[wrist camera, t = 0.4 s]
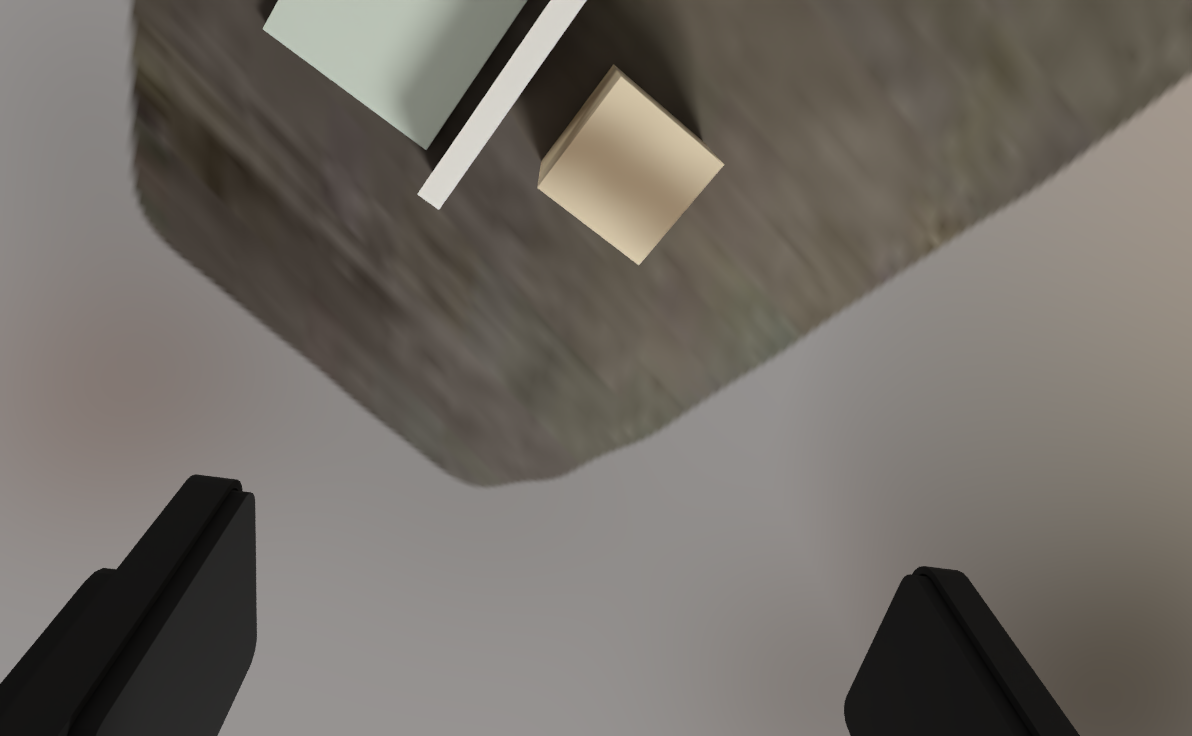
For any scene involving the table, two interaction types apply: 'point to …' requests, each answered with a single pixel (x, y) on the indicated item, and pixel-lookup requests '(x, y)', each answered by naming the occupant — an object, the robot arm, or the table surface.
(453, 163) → the cream screen
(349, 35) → the sage pad
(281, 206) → the table surface
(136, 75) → the table surface
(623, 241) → the maple cube
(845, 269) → the table surface
